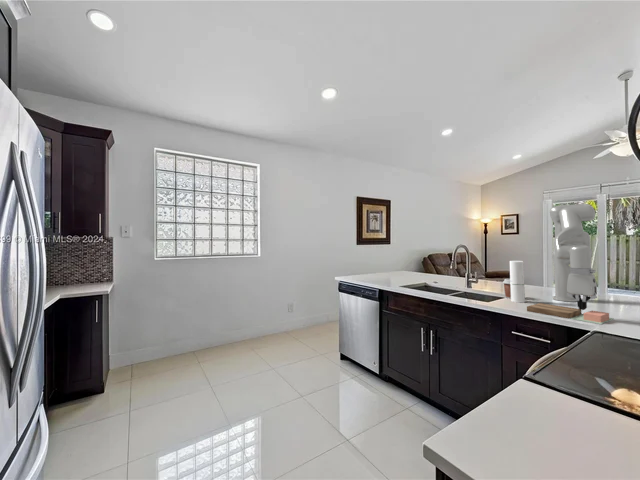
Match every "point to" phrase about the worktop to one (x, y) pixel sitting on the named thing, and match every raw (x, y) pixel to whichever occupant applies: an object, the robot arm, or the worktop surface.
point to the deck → (554, 310)
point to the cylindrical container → (517, 281)
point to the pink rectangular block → (596, 316)
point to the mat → (581, 318)
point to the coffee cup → (507, 288)
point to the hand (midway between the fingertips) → (582, 309)
